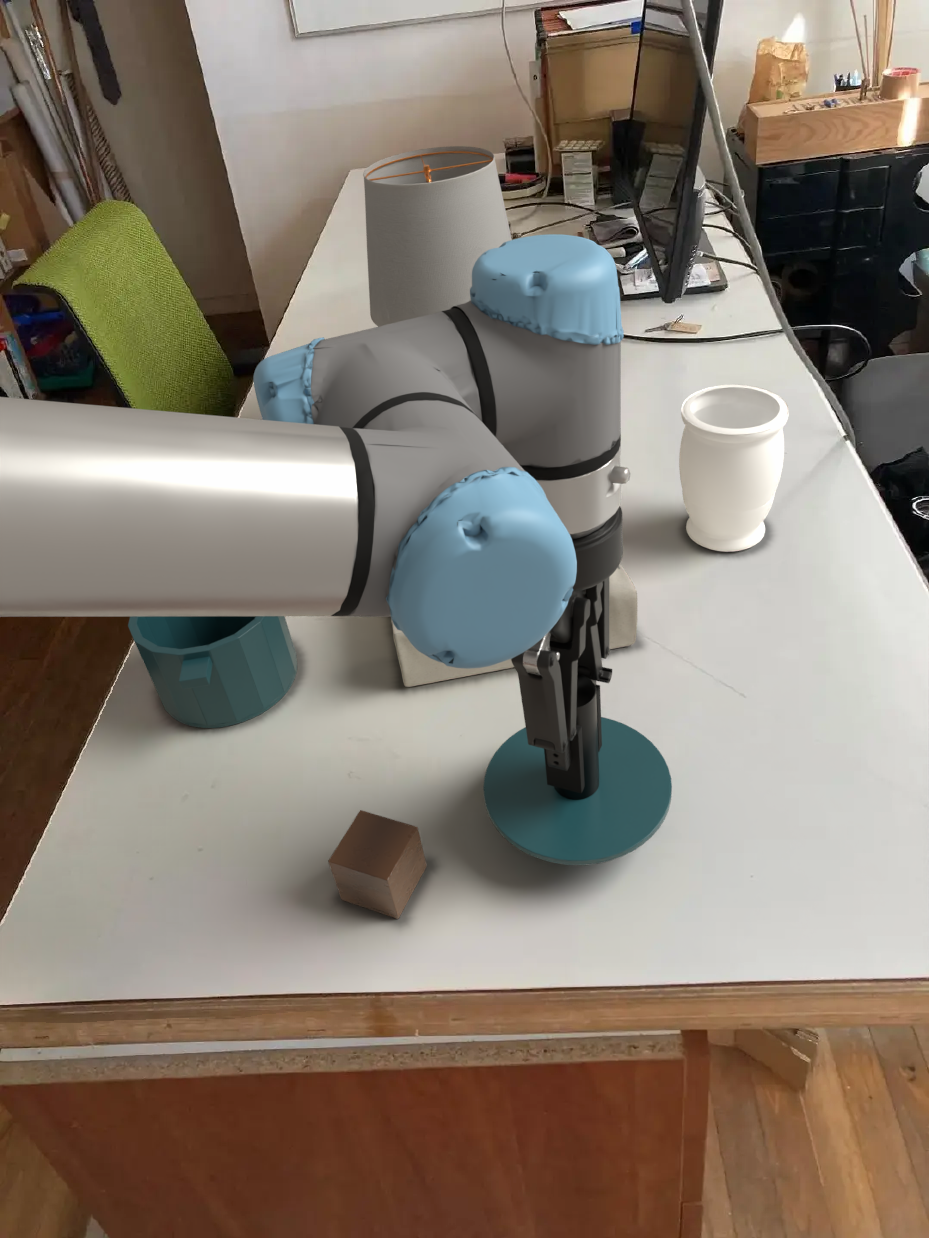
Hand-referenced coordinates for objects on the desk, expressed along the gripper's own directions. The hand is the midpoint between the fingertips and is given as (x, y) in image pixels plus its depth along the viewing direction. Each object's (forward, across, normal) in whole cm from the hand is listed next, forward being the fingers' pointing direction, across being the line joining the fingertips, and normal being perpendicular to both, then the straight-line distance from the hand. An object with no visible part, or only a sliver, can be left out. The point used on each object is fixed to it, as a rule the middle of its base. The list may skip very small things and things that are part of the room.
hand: (575, 764), depth 71 cm
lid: (+3, 0, 0) cm, 3 cm away
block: (+6, -11, +12) cm, 18 cm away
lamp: (+6, +56, +35) cm, 66 cm away
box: (+6, +28, +19) cm, 34 cm away
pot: (+6, +5, +38) cm, 39 cm away
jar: (+6, +42, -3) cm, 42 cm away
